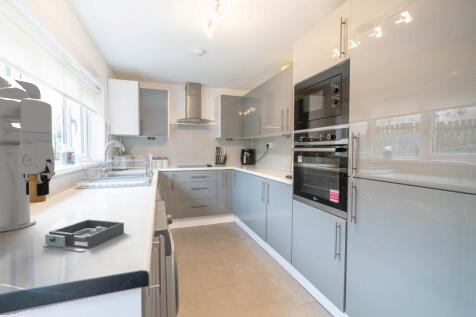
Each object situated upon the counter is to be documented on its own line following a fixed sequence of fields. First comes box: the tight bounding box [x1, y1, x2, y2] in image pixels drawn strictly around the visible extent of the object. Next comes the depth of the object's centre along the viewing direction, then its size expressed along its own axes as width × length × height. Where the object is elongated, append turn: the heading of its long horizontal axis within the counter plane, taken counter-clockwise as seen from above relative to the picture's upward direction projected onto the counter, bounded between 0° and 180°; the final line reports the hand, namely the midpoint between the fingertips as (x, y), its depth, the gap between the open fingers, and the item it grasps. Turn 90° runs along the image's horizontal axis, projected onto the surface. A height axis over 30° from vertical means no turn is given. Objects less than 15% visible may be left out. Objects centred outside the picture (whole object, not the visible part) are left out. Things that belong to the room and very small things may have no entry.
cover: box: [44, 233, 66, 247], centre depth 63 cm, size 7×1×3 cm, turn 75°
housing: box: [42, 219, 125, 253], centre depth 70 cm, size 16×15×4 cm
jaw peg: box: [28, 171, 47, 204], centre depth 70 cm, size 5×5×10 cm
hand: (37, 194), depth 70 cm, fingers closed on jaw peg, 4 cm apart
